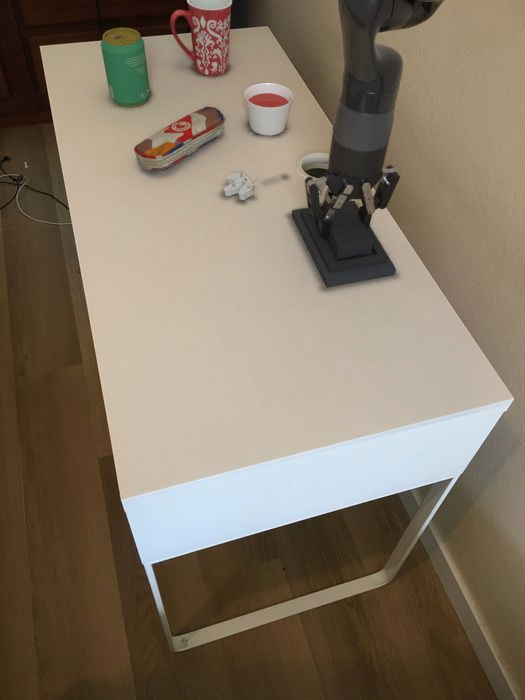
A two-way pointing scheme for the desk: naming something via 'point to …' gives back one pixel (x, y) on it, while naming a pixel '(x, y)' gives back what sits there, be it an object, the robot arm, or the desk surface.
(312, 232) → the base pad
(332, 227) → the black pad
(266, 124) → the candle
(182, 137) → the pencil case
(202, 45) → the mug
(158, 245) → the desk surface
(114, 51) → the beverage can
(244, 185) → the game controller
